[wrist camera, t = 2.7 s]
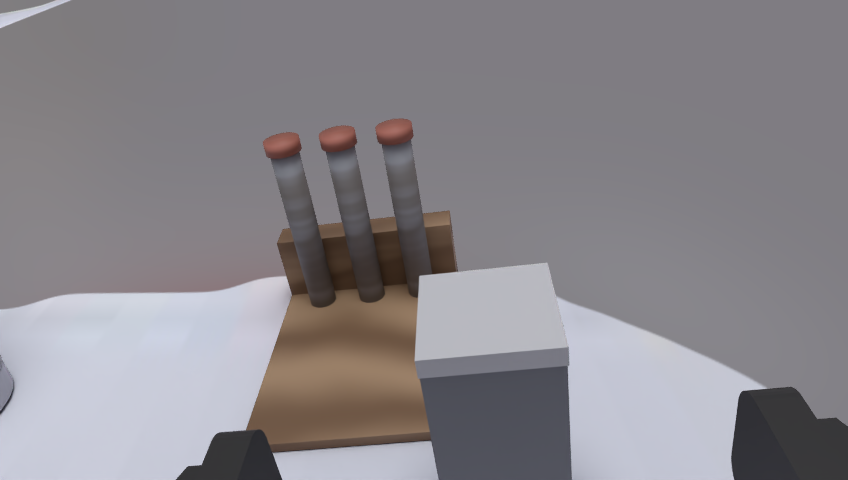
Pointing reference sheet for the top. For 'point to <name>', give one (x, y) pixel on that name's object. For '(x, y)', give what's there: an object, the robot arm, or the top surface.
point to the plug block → (494, 374)
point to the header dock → (350, 301)
